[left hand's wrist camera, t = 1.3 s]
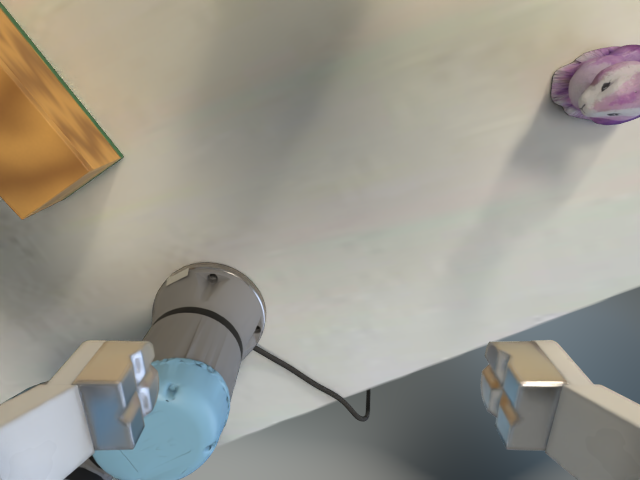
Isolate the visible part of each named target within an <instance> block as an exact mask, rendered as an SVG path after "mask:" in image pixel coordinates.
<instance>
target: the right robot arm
mask: <svg viewBox="0 0 640 480" xmlns="http://www.w3.org/2000/svg"><path fill="white" fill-rule="evenodd" d="M265 320H266V308H265V303H264V300H263V298H262V295H261V293H260V292H259V290H258V288H257V287H256V286H255V284H254V283H253V282H252V281H251V280H250V279H249V278H248V277H246V276H245V275H244V274H242V273H241V272H239V271H237V270H235V269H233V268H231V267H228V266H225V265H222V264H217V263H196V264H191V265H188V266H185V267H183V268H181V269H179V270H177V271H176V272H174V273H173V274H172V275H171V276H169V277H168V279H167V280H166V281H165V282H164V283H163V285H162V286H161V288H160V289H159V291H158V293H157V294H156V297H155V300H154V304H153V311H152V326H151V328H150V330H149V331H148V333H147V334H146V336H145V337H144V339H143V340H142V341H149V342H150V343H152V344H153V348H154V352H155V357H154V359H153V361H152V363H151V365H152V366H153V367H154V368H155V369H156V370H157V371H158V375H159V393H158V397H157V402H156V404H155V406H154V408H153V411H152V412H150V413H149V414H148V415H146V416H145V417H144V424H145V427H144V429H143V431H142V433H141V435H140V437H139V439H138V441H137V443H136V445H135V447H134V449H133V450H99V451H95V453H94V454H93V455H92V456H90V457H89V458H88V459H87V460H86V461H84V462H83V463H82V464H81V465H80V466H79V467H77V468H76V469H75V470H74V471H73V472H72V473H70V474H69V475H68V476H67V477H66V478H64V479H63V480H112V478H113V477H114V478H116V479H119V480H179V479H181V478H184V477H185V476H187V475H189V474H191V473H192V472H194V471H195V470H196V469H198V468H199V467H200V466H201V465H202V464H203V463H204V462H205V461H206V460H207V459H208V458H209V457H210V455H211V454H212V452H213V450H214V449H215V447H216V445H217V442H218V440H219V437H220V434H221V432H222V430H223V428H224V426H225V424H226V422H227V419H228V415H229V410H230V401H231V397H232V393H233V389H234V386H235V382H236V378H237V375H238V371H239V368H240V363H241V361H242V360H243V359H244V358H245V357H246V356H247V355H248V354H249V353H250V352H251V351H252V349H253V350H254V351H256V352H258V353H259V354H261V355H263V356H265V357H266V358H268V359H270V360H272V361H273V362H275V363H277V364H279V365H281V366H282V367H284V368H286V369H287V370H289V371H291V372H292V373H294V374H295V375H297V376H298V377H300V378H301V379H303V380H304V381H306V382H307V383H309V384H310V385H312V386H314V387H315V388H317V389H319V390H321V391H323V392H325V393H326V394H328V395H330V396H332V397H334V398H335V399H337V400H338V401H339V402H341V403H342V404H343V405H344V406H345V407H346V408H347V409H348V411H349V412H350V413H351V414H352V415H353V416H354V417H355V418H356V419H357V420H359V421H366V420H367V419H368V418H369V415H370V394H371V391H370V388H369V389H367V390H366V413H365V416H364V417H362V416H360V415H358V414H357V413H356V412H355V410H354V409H353V408H352V407H351V406H350V405H349V404H348V403H347V402H346V401H345V400H344V399H343V398H342V397H341V396H339V395H338V394H336V393H335V392H333V391H331V390H329V389H327V388H325V387H324V386H322V385H320V384H318V383H316V382H315V381H313V380H312V379H310V378H309V377H307V376H306V375H304V374H303V373H301V372H300V371H298V370H297V369H295V368H293V367H292V366H290V365H289V364H287V363H285V362H284V361H282V360H280V359H278V358H276V357H275V356H273V355H271V354H270V353H268V352H266V351H264V350H263V349H261V348H259V347H258V346H256V344H257V343H258V341H259V340H260V338H261V336H262V333H263V329H264V325H265ZM48 382H49V381H47V382H43V383H40V384H38V385H46V384H47V383H48ZM38 385H34V386H32V387H29V388H27V389H26V390H24V391H22V392H21V393H19V394H17V395H16V396H18V395H20V394H22V393H24V392H26V391H28V390H30V389H32V388H34V387H36V386H38ZM16 396H14V397H16ZM14 397H12V398H14ZM12 398H10V399H12ZM10 399H8V400H10ZM8 400H6V401H8ZM6 401H5V402H6ZM3 403H4V402H3ZM3 403H2V404H3Z"/></svg>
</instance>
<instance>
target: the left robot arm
mask: <svg viewBox="0 0 640 480" xmlns="http://www.w3.org/2000/svg"><path fill="white" fill-rule="evenodd" d="M154 357H155V352H154V348H153V344H152V343H150V342H149V341H112V340H109V341H106V340H89V341H86V342H83V343H82V344H81V345H80V346H79V348H78V349H77V350H76V351H75V352H74V353H73V354H72V356H71V357H70V358H69V359H68V360H67V361H66V362H65V364H64V365H63V366H62V367H61V368H60V369H59V370H58V372H57V373H56V374H55V375H54V376H53V377H52V379H51V380H50V381H49V382H48V383H47V384H46V385H38V386H36V387H34V388H32V389H30V390H28V391H26V392H24V393H22V394H20V395H18V396H16V397H14V398H12V399H10V400H8V401H6V402H4V403H3V404H1V405H0V480H63V479H64V478H66V477H67V476H68V475H69V474H70V473H72V472H73V471H74V470H75V469H76V468H77V467H79V466H80V465H81V464H82V463H83V462H84V461H86V460H87V459H88V458H89V457H90V456H92V455H93V454H94V453H95V451H99V450H133V449H134V447H135V445H136V443H137V441H138V439H139V437H140V435H141V433H142V431H143V429H144V427H145V424H144V417H145V416H146V415H148V414H149V413H150V412H152V411H153V408H154V406H155V404H156V402H157V397H158V393H159V375H158V371H157V370H156V369H155V368H154V367H153V366H152V365H151V363H152V361H153V359H154ZM485 357H486V359H487V361H488V363H489V365H488V366H487V367H486V368H485V369H484V370H483V371H482V376H481V394H482V398H483V401H484V404H485V406H486V408H487V411H488V412H490V413H491V414H492V415H494V416H495V417H496V424H495V427H496V429H497V431H498V433H499V435H500V437H501V439H502V441H503V443H504V445H505V447H506V449H507V450H541V451H545V453H546V454H548V455H549V456H550V457H551V458H552V459H553V460H555V461H556V462H557V463H558V464H559V465H560V466H562V467H563V468H564V469H565V470H566V471H567V472H569V473H570V474H571V475H572V476H573V477H575V478H576V479H577V480H640V405H639V404H637V403H635V402H633V401H631V400H630V399H628V398H626V397H624V396H622V395H620V394H618V393H616V392H614V391H612V390H610V389H608V388H606V387H604V386H602V385H594V384H593V383H592V382H591V381H590V380H589V379H588V377H587V376H586V375H585V374H584V373H583V372H582V371H581V369H580V368H579V367H578V366H577V365H576V364H575V362H574V361H573V360H572V359H571V358H570V357H569V356H568V354H567V353H566V352H565V351H564V350H563V349H562V348H561V346H560V345H559V344H558V343H557V342H555V341H553V340H540V341H513V342H489V343H488V345H487V347H486V352H485Z"/></svg>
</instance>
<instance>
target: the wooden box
mask: <svg viewBox="0 0 640 480" xmlns="http://www.w3.org/2000/svg"><path fill="white" fill-rule="evenodd" d="M123 157H124V156H123V155H122V154H121V152H120V151H119V150H118V149H117V147H116V146H115V145H114V144H113V142H112V141H111V140H110V139H109V137H108V136H107V135H106V134H105V132H104V131H103V130H102V129H101V127H100V126H99V125H98V124H97V122H96V121H95V120H94V119H93V117H92V116H91V115H90V114H89V112H88V111H87V110H86V109H85V107H84V106H83V105H82V104H81V102H80V101H79V100H78V99H77V97H76V96H75V95H74V94H73V92H72V91H71V90H70V89H69V87H68V86H67V85H66V84H65V82H64V81H63V80H62V79H61V77H60V76H59V75H58V74H57V72H56V71H55V70H54V69H53V67H52V66H51V65H50V64H49V62H48V61H47V60H46V59H45V57H44V56H43V55H42V54H41V52H40V51H39V50H38V49H37V47H36V46H35V45H34V44H33V42H32V41H31V40H30V39H29V37H28V36H27V35H26V34H25V32H24V31H23V30H22V29H21V27H20V26H19V25H18V24H17V22H16V21H15V20H14V19H13V17H12V16H11V15H10V14H9V12H8V11H7V10H6V9H5V7H4V6H3V5H2V4H1V2H0V197H1V198H2V199H3V200H4V201H5V202H6V203H7V204H8V205H9V206H10V207H11V208H12V210H13V211H14V212H15V213H16V214H17V215H18V216H19V217H20V218H21V219H22V220H23V219H25V218H27V217H29V216H31V215H33V214H35V213H37V212H39V211H41V210H43V209H45V208H47V207H49V206H51V205H53V204H55V203H57V202H59V201H62V200H64V199H65V198H67V197H68V196H70V195H71V194H72V193H74V192H75V191H77V190H78V189H79V188H81V187H82V186H84V185H85V184H86V183H88V182H89V181H91V180H92V179H94V178H95V177H96V176H98V175H99V174H101V173H102V172H103V171H105V170H106V169H108V168H109V167H110V166H112V165H113V164H115V163H116V162H117V161H119V160H120V159H122V158H123Z"/></svg>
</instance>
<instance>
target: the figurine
mask: <svg viewBox="0 0 640 480" xmlns="http://www.w3.org/2000/svg"><path fill="white" fill-rule="evenodd" d="M551 89H552V90H551V97H552V100H553V101H554V102H555V103H556V104H558V105H561V106H563V108H564V111H565V112H566V113H567V114H568V115H570V116H573V117H578V118H583V119H589V120H592V121H594V122H595V123H598V124H602V125H615V124H620V123H624V122H628V121H631V120H634V119H636V118H639V117H640V45H626V46H622V47H608V48H602V49H597V50H593V51H590V52H587V53H584V54H583V55H581V56H580V57H578V58H577V59H576V60H575V61H574V62H573V63H570V64H569V65H566V66H564V67H561V68H559V69H558V70H557V71H556V72H555V74H554V76H553V83H552V88H551Z"/></svg>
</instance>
